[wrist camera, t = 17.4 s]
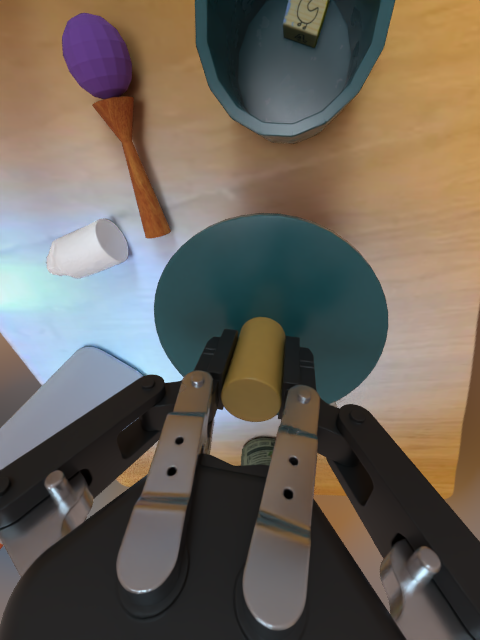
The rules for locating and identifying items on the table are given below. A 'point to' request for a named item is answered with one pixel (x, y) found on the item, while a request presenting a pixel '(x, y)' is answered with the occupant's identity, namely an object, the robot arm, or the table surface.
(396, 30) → the table surface
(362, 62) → the container
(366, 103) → the table surface
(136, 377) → the plastic bottle
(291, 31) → the alphabet block
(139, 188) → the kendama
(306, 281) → the teal pot lid
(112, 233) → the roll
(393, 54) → the table surface
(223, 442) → the table surface
